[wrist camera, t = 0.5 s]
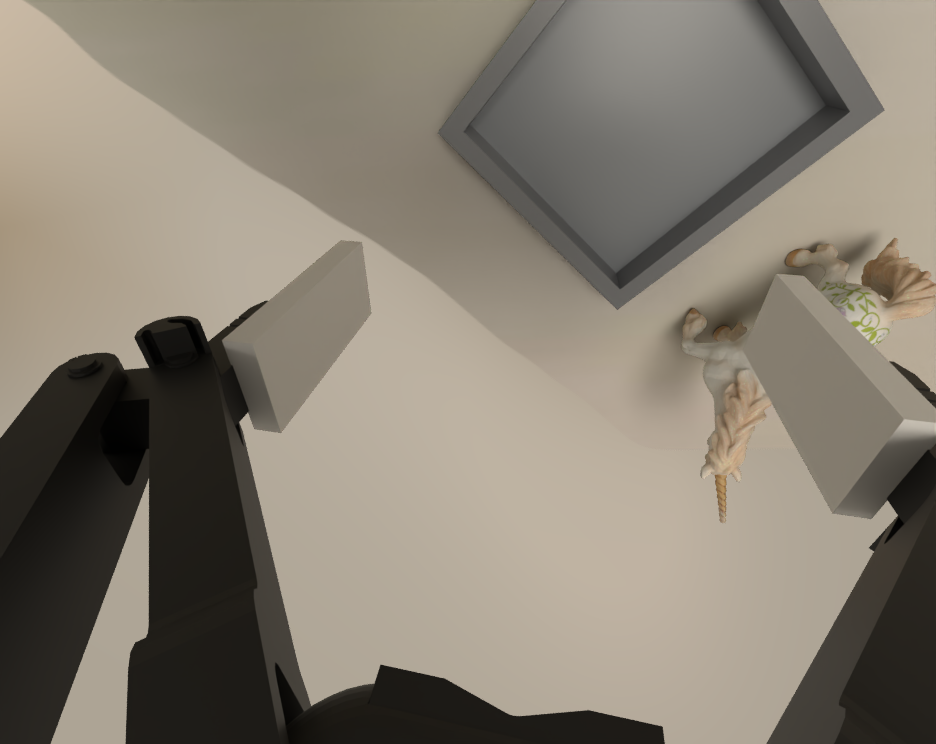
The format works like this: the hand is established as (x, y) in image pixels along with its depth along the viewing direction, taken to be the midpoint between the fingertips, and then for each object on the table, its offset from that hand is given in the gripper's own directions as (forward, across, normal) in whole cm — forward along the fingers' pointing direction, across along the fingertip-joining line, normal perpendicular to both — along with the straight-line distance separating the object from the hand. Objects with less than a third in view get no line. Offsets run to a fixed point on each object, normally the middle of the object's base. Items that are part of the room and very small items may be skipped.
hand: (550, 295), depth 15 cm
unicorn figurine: (+23, +18, -12) cm, 31 cm away
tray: (+22, +4, +3) cm, 22 cm away
